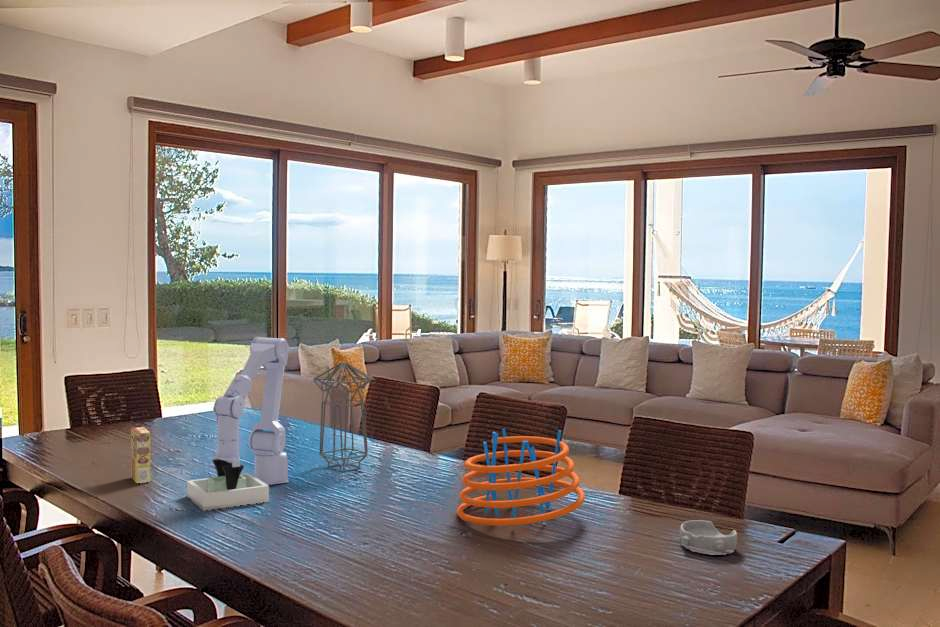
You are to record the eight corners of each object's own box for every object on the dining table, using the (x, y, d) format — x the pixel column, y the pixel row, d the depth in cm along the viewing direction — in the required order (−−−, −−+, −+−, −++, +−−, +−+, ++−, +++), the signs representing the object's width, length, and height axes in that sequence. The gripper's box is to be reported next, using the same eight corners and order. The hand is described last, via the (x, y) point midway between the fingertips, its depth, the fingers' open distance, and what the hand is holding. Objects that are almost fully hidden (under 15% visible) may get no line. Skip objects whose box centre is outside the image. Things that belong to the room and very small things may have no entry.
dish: (692, 535, 210) (693, 516, 210) (745, 548, 201) (746, 528, 201) (667, 549, 199) (668, 528, 198) (722, 563, 190) (723, 542, 190)
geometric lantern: (336, 476, 257) (335, 366, 256) (310, 467, 269) (310, 362, 268) (377, 468, 268) (377, 362, 266) (351, 460, 280) (350, 358, 278)
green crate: (239, 491, 234) (239, 473, 233) (246, 495, 229) (246, 478, 229) (207, 495, 228) (208, 477, 228) (214, 500, 224) (214, 482, 224)
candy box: (150, 482, 243) (151, 431, 243) (135, 484, 241) (136, 433, 240) (144, 476, 251) (144, 426, 250) (129, 477, 248) (130, 427, 248)
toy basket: (500, 550, 197) (492, 452, 196) (435, 519, 227) (428, 435, 226) (612, 520, 213) (605, 429, 213) (538, 495, 244) (531, 416, 243)
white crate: (248, 488, 241) (249, 473, 240) (268, 501, 227) (269, 485, 227) (186, 496, 230) (186, 480, 230) (203, 511, 217) (203, 494, 217)
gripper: (205, 435, 232) (205, 482, 232) (222, 445, 220) (221, 495, 220) (230, 433, 236) (229, 479, 236) (247, 443, 224) (247, 491, 224)
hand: (227, 487), depth 229 cm, fingers open, 6 cm apart
